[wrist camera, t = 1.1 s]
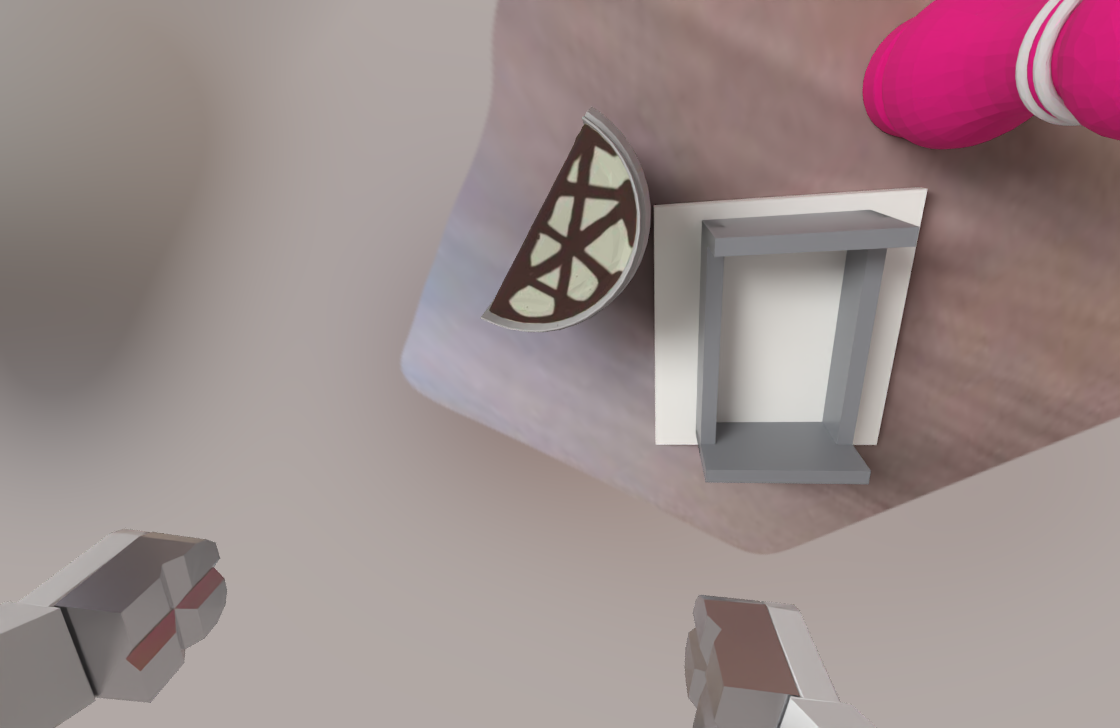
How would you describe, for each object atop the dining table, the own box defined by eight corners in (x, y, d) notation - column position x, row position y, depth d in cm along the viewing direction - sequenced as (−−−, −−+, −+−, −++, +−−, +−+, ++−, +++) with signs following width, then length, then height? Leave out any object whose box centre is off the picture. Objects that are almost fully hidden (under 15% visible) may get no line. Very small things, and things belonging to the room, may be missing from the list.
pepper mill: (1003, 109, 29) (1594, 82, 11) (868, 168, 31) (1186, 223, 13) (982, -28, 27) (1682, -339, 9) (837, 45, 29) (1172, -88, 11)
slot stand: (919, 187, 31) (990, 202, 25) (870, 437, 39) (916, 497, 33) (653, 205, 34) (658, 222, 28) (655, 437, 41) (659, 493, 35)
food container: (587, 319, 38) (573, 380, 29) (514, 277, 37) (476, 326, 28) (684, 163, 33) (704, 176, 24) (601, 111, 32) (588, 105, 23)
